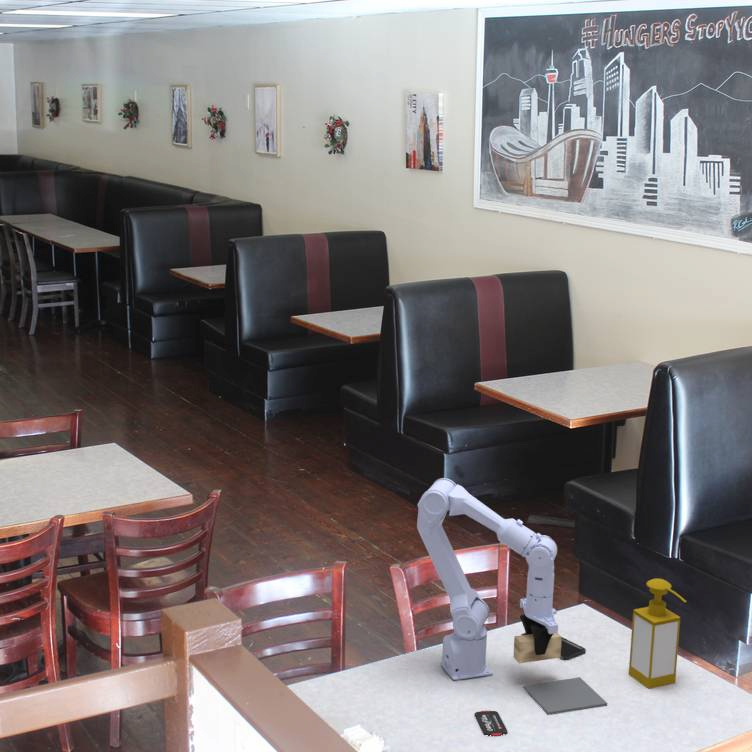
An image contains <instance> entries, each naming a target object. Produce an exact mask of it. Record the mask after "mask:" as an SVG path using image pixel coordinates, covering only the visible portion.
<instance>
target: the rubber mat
mask: <svg viewBox="0 0 752 752" xmlns="http://www.w3.org/2000/svg"><path fill="white" fill-rule="evenodd" d="M523 688H524V689H525V690H526V691H527V692H528V693H529V694H530V695H529V694H528V693H527V692H526V691H525V690H524V689H523ZM522 689H523V690H524V691H525V692H526V693H527V694H528V695H529V696H530V697H531V698H532V697H533V698H532V699H533V701H534V702H535V703H536V702H537V703H538V704H539V705H540V706H541V707H542V708H543V709H542V708H541V707H540V706H539V705H538V704H537V703H536V704H537V705H538V706H539V707H540V708H541V709H542V710H543V711H544V712H545V714H546V715H549V714H550V715H555V714H560V713H561V714H563V713H567V712H573V711H580V710H586V709H593V708H598V707H605V706H608V702H607V701H606V700H605V699H604V698H603V697H601V696H600V694H598V693H597V692H596V690H594V689H593V688H592V686H590V685H589V684H588V683H587V682H585V680H583V678H581V676H579V677H573V678H566V679H559V680H553V681H552V680H551V681H546V682H539V683H538V682H537V683H532V684H525V685H522Z"/></svg>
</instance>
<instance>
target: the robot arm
mask: <svg viewBox="0 0 752 752" xmlns="http://www.w3.org/2000/svg"><path fill="white" fill-rule="evenodd" d="M417 508H418V511H417V512H418V513H417V520H416V521H417V522H416V528H417V531H418V533H419V536H420V537H421V540H422V542H423V544H424V547H425V548H426V551H427V552H428V555H429V557H430V559H431V562H432V563H433V565H434V568H435V570H436V572H437V575H438V576H439V578H440V581H441V583H442V585H443V587H444V590H445V591H446V594H447V596H448V598H449V610H450V615H451V618H452V627H453V632H452V633H450V634H447V635H445V636H443V639H442V650H441V651H442V653H441V654H442V655H441V656H442V657H441V663H440V666H441V667H442V668H443V669H444V671H445V672H446V674H447V675H449V677H450V678H451V679H452V680H453V681H458V680H466V679H472V678H479V677H487V676H491V675H493V672H492V670H491V669H490V668H489V667H488V666H487V663H486V662H487V661H486V660H487V639H488V638H487V637H488V635H487V634H488V630H487V629H486V628H487V627H486V626H485V623H486V621H487V620H488V619H489V617H490V608H489V605H488V604H487V602H486V601H485V600H483V599H482V598H481V597H480V595H479V593H478V591H477V590H475V589H474V588H472V587H471V585H470V583H469V582H468V579H467V577H466V575H465V572H464V570H463V568H462V566H461V564H460V562H459V559H458V557H457V555H456V552H455V551H454V549H453V546H452V544H451V543H450V539H449V538H448V536H447V533H446V532H445V530H444V527H443V522H444V519H445V517H446V516H447V513H448V511H449V514H448V516H449V517H453V516H459V515H466V516H467V517H469V518H470V519H472V520H474V521H476V522H478V523H479V524H481V525H482V526H485V527H486V528H487V529H489V530H491V531H493V532H495V534H496V537H497V540H498V541H499V542H500V543H502V544H504V545H505V546H507V547H508V548H509V549H511V550H512V551H514V552H515V553H517V554H519V556H520V555H521V557H523V558H525V561H526V563H527V565H528V571H527V581H526V597H525V598H520V599H519V607H520V608H521V609H522V610H523V612H524V614H521V615H519V619H520V621H521V623H522V627H523V629H524V633H526V635H528V634H533V637H534V648H535V654H536V655H543V654H545V653H546V650H547V647H548V644H549V641H550V639H551V637H552V635H553V634H554V633H558V634H559V624H558V623H557V621H556V617H555V615H557V612H558V611H557V610H556V609H555V608H554V607H553V605H554V603H553V601H554V588H555V586H554V585H555V561H554V560H555V559H556V556H557V554H558V545H557V543H556V542H555V540H553V539H552V537H550V536H548V535H544V534H543V535H542V534H541V533H540V532H537V533H536V532H535V531H533V530H532V529H530V528H528V527H527V526H525V525H523V524H524V522H523V521H522V520H521V519H520V518H518V519H517V520H516V519H514V518H513V517H512V518H507V519H506V518H504V517H502V516H500V515H499V514H498V513H497V512H496V511H494V510H492V509H491V508H489V507H488V506H487V505H485V503H483V502H482V501H480V500H478V499H477V497H474V496H473V495H471V494H470V493H469V492H468V491H467V490H466V489H465V488H464V486H462V485H460V484H458V483H457V484H456V482H454V481H453V480H451V479H449V478H447V477H446V478H444V477H442V478H441V477H440V478H438V479H436V480H435V481H434V482H433V484H431V486H430V487H429V488H428V490H426V491H425V492H424V493H423V494H422V495H421V498H420V499H419V501H418V503H417Z"/></svg>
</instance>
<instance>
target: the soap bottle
mask: <svg viewBox="0 0 752 752" xmlns="http://www.w3.org/2000/svg"><path fill="white" fill-rule="evenodd" d="M645 584H646V587H648V588H649V593H650V594H653V595H654V596H653V597H654V598H653V599H650V600H649V602H648V606H645V607H640V608H635V609H633V613H632V620H631V621H632V622H631V624H632V625H631V634H630V635H631V637H630V650H629V651H630V653H629V666H628V675H629V676H630V677H632V679H634V680H636V681H637V682H639V683H640V684H641V685H643V686H644V687H646V688H647V689H648V690H650V689H654V688H659V687H663V686H667V685H672V684H675V683H676V678H677V676H676V675H677V667H678V666H677V665H678V652H679V643H680V642H679V639H680V627H681V616H679V615H677V614H676V613H674V612H672V611H671V610H670V609H667V608H666V607H667V603H666V601H664V600H662V598H663V596H665V595H667V594H668V591H669V592H670V593H672V594H673V595H675V596H676V597H677V598H679V599H680V600H681V601H682V602H683V603H684V604H685V603H687V600H686V599H684V598H683V597H682V596H681V595H680V594H678V593H677V592H676V591H675V590H672V587H673V586H672V584H671V583H670V582H668V580H665V579H664V578H652V579H650V580H648V581H647V582H646V583H645Z"/></svg>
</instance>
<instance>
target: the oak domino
mask: <svg viewBox="0 0 752 752" xmlns="http://www.w3.org/2000/svg"><path fill="white" fill-rule="evenodd" d="M562 637H563V636H561V634H559V632H558V633H554V634H553V635H552V637H551V639H550V641H549V644H548V647H547V650H546V653H545V654H543V655H536V654H535V648H534V637H533V634H528V635H521V634H520V635H514V640H513V657H512V658H513V659H514V660H515V661H516V662H517V663H519V664H524V663H532V662H537V661H538V662H540V661H546V660H547V661H548V660H554V659H559V658H560V657H561V641H562Z"/></svg>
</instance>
